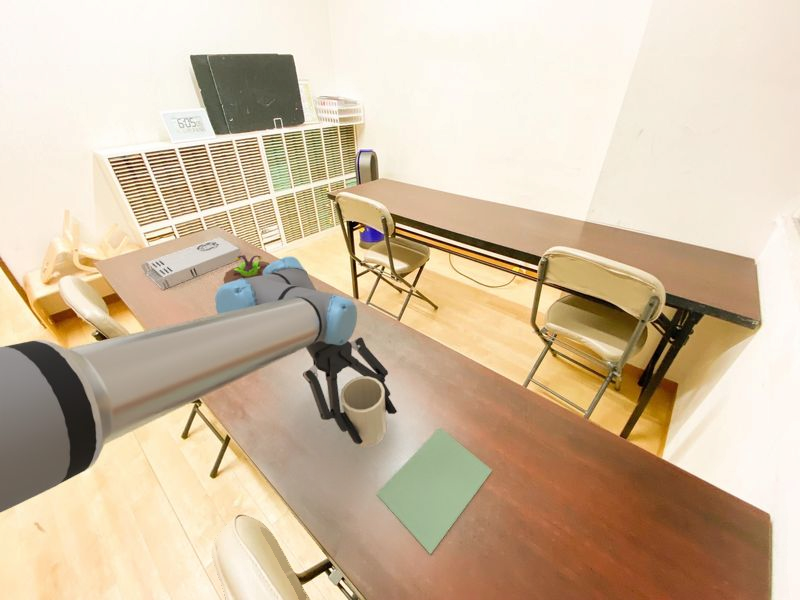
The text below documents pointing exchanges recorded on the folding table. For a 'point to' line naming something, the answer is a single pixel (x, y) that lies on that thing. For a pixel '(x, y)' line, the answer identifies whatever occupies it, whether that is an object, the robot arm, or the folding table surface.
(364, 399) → the cup
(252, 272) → the plant
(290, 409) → the folding table surface
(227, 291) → the robot arm
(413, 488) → the place mat
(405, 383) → the folding table surface
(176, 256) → the power supply unit
